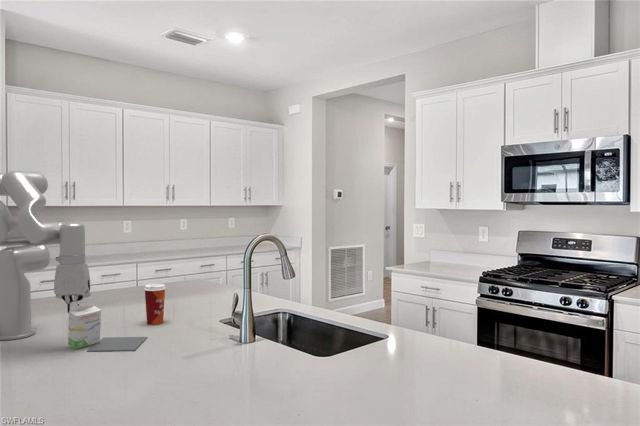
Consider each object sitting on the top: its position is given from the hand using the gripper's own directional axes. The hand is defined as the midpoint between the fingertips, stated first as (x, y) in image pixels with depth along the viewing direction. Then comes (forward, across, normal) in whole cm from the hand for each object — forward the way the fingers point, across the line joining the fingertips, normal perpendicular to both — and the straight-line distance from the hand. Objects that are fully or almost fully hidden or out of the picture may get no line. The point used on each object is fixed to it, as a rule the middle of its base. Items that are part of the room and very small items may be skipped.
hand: (73, 314), depth 154 cm
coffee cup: (+11, +19, +27) cm, 35 cm away
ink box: (+10, +3, 0) cm, 10 cm away
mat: (+10, +14, 0) cm, 18 cm away
